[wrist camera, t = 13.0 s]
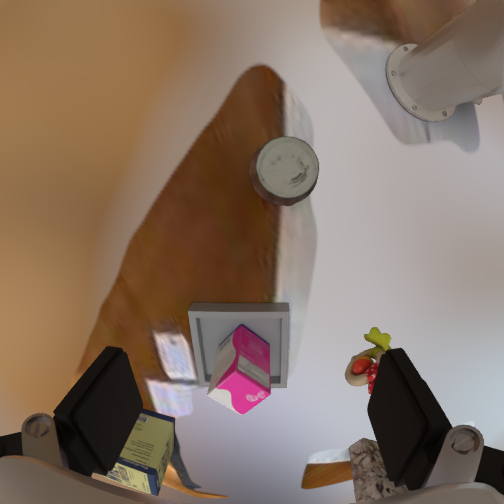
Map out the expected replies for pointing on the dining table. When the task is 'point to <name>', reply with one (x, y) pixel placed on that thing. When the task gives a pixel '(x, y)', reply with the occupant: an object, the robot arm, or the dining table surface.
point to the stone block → (370, 472)
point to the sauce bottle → (284, 170)
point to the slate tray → (226, 321)
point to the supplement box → (241, 371)
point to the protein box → (146, 453)
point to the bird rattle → (368, 360)
